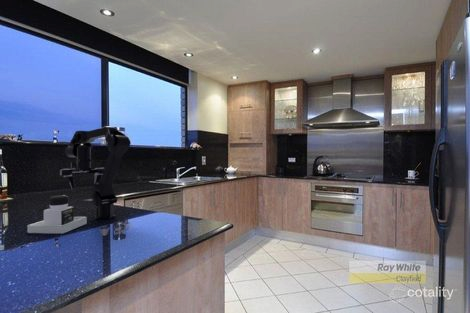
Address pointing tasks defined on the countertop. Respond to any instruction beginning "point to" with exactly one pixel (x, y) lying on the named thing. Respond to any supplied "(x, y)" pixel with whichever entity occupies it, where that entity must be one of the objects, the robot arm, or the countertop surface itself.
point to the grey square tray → (56, 226)
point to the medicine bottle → (58, 211)
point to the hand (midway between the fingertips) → (84, 189)
